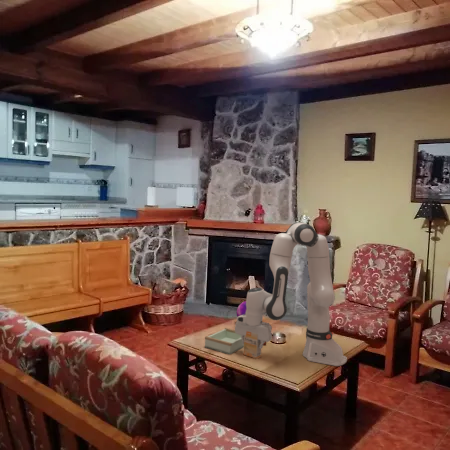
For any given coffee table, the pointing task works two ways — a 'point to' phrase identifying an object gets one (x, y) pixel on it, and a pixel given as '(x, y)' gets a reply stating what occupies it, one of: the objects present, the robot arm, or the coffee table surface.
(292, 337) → the coffee table surface
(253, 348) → the supplement box
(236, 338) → the crate
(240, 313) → the decorative orb
